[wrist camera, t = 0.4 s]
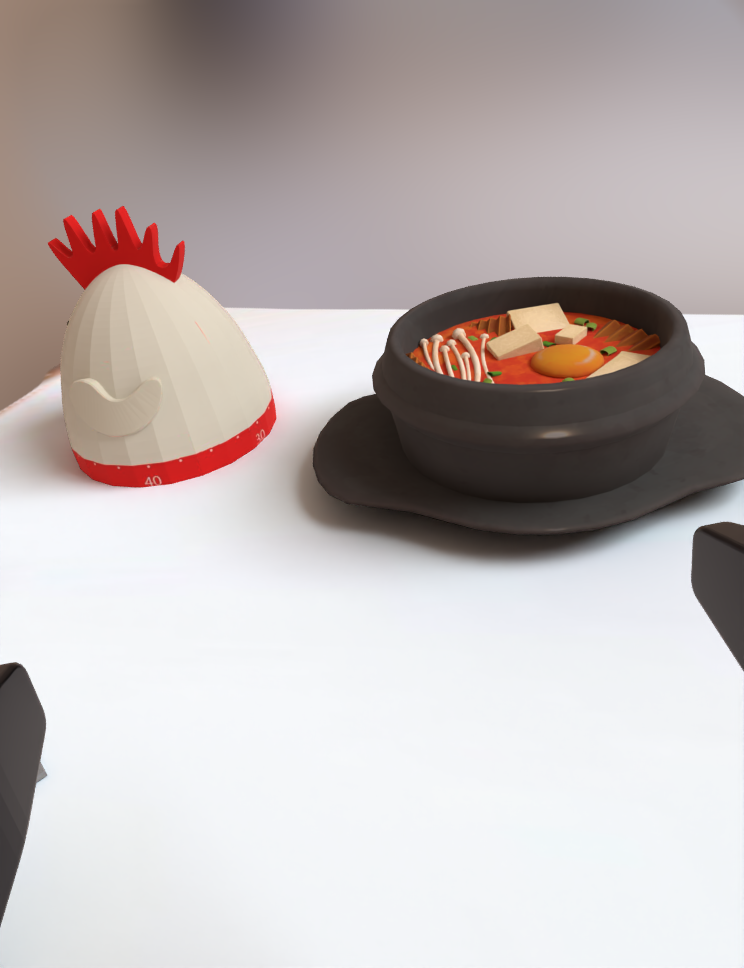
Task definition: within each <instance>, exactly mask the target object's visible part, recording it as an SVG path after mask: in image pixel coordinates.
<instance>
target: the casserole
mask: <svg viewBox="0 0 744 968" xmlns="http://www.w3.org/2000/svg"><path fill="white" fill-rule="evenodd" d="M372 379H373V389H374V391H375V393H376V394H373V395H369V396H365V397H362V398H359V399H357V400H354V401H352V402H349V403H348V404H347V405H346V406H344V407H343V408H342V409H341V410H340V411H339V412H337V413H336V414H335V415H334V416H333V417H332V418H331V419H330V420H329V422H328V423H327V424H326V426H325V427H324V428H323V429H322V431H321V432H320V434H319V437H318V439H317V442H316V444H315V446H314V453H313V467H314V470H315V473H316V476H317V479H318V482H319V483H320V484H321V485H322V487H323V488H324V489H325V490H326V492H327V493H328V494H329V495H331V496H333V497H335V498H337V499H339V500H341V501H343V502H345V503H347V504H353V505H361V506H368V507H376V508H383V509H391V510H398V511H406V512H412V513H416V514H420V515H423V516H427V517H431V518H435V519H438V520H442V521H446V522H450V523H454V524H457V525H461V526H465V527H469V528H473V529H477V530H484V531H492V532H500V533H509V534H565V533H572V532H580V531H588V530H596V529H601V528H604V527H608V526H612V525H616V524H620V523H623V522H627V521H631V520H634V519H637V518H639V517H641V516H643V515H646V514H648V513H650V512H652V511H654V510H657V509H659V508H661V507H663V506H666V505H668V504H670V503H672V502H674V501H677V500H679V499H681V498H683V497H685V496H688V495H690V494H692V493H695V492H699V491H703V490H707V489H711V488H715V487H718V486H722V485H726V484H729V483H733V482H736V481H739V480H743V479H744V396H742V395H741V394H739V393H738V392H736V391H735V390H733V389H732V388H730V387H728V386H727V385H725V384H724V383H722V382H720V381H718V380H716V379H713V378H711V377H709V376H706V375H705V365H704V359H703V357H702V355H701V353H700V352H699V350H698V348H697V346H696V345H695V344H694V343H693V342H692V341H691V339H690V334H689V330H688V326H687V322H686V320H685V319H684V317H683V315H682V313H681V312H680V311H679V310H678V309H677V308H676V307H674V306H673V305H672V304H671V303H670V302H669V301H667V300H665V299H663V298H661V297H659V296H657V295H655V294H653V293H651V292H648V291H645V290H642V289H639V288H636V287H633V286H629V285H625V284H620V283H616V282H610V281H604V280H596V279H589V278H572V277H532V278H518V279H509V280H501V281H494V282H488V283H483V284H478V285H474V286H468V287H465V288H461V289H458V290H454V291H451V292H447V293H444V294H442V295H439V296H437V297H434V298H432V299H429V300H427V301H425V302H423V303H421V304H419V305H418V306H416V307H414V308H412V309H410V310H409V311H408V312H407V313H405V314H404V315H403V316H401V317H400V318H399V319H398V320H397V321H396V323H395V324H394V325H393V326H392V328H391V329H390V332H389V335H388V338H387V342H386V347H385V351H384V353H383V355H382V356H381V357H380V359H379V360H378V361H377V362H376V365H375V368H374V371H373V375H372Z"/></svg>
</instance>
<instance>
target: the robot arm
mask: <svg viewBox="0 0 744 968" xmlns="http://www.w3.org/2000/svg"><path fill="white" fill-rule="evenodd" d="M691 583H692V588H693V591H694V594H695V596H696V598H697V600H698V601H699V603H700V604H701V606H702V607H703V609H704V610H705V612H706V614H707V615H708V617H709V618H710V620H711V621H712V623H713V624H714V626H715V628H716V629H717V631H718V632H719V634H720V635H721V637H722V638H723V640H724V642H725V643H726V645H727V646H728V648H729V649H730V651H731V652H732V654H733V656H734V657H735V659H736V660H737V662H738V663H739V665H740V666H741V668H742V670H743V671H744V525H740V524H736V523H732V522H720V523H715V524H710V525H705V526H701V527H699V528H698V529H697V530H696V531H695V533H694V536H693V549H692V571H691ZM45 731H46V718H45V713H44V710H43V708H42V705H41V703H40V701H39V698H38V696H37V694H36V691H35V689H34V687H33V685H32V682H31V680H30V678H29V675H28V673H27V671H26V669H25V668H24V667H23V666H22V665H21V664H19V663H16V662H14V663H7V664H2V665H0V926H1V922H2V919H3V916H4V912H5V909H6V906H7V902H8V899H9V896H10V892H11V889H12V886H13V882H14V879H15V875H16V872H17V869H18V865H19V862H20V858H21V855H22V851H23V847H24V844H25V839H26V835H27V830H28V825H29V820H30V815H31V809H32V804H33V798H34V793H35V787H36V781H37V776H38V770H39V765H40V759H41V754H42V748H43V743H44V737H45Z"/></svg>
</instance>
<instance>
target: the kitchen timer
mask: <svg viewBox="0 0 744 968" xmlns="http://www.w3.org/2000/svg"><path fill="white" fill-rule="evenodd" d="M115 219H116V229H117V237H118V243H117V241H116V240H115V238H114V236H113V234H112V232H111V230H110V227H109V225H108V223H107V221H106V219H105V217H104V215H103V213H102V211H101V210H100V209H98V210H97V211H95V212H93V213H92V223H93V232H94V238H95V244H96V247H95V246H94V245H93V244H92V243H91V242H90V240H89V239H88V237H87V235H86V234H85V233H84V231H83V229H82V228H81V226H80V225H79V223H78V222H77V220H76V219H75V218H74V217H73V216H72V215H71V216H69V217H67V218H65V219H64V220H63V222H64V227H65V230H66V233H67V236H68V239H69V242H70V245H71V248H72V251H71V250H70V249H68V248H67V247H66V246H65V245H64V244H63V243H62V242H60V241H59V240H58V239H57V238H55V239H53V240H52V241H50V242H48V245H49V247H50V248H51V250H52V251H53V253H54V254H55V256H56V257H57V258H58V259H59V261H60V262H61V263H62V264H63V265H64V267H65V268H66V269H67V270H68V271H69V272H70V273H71V275H72V276H73V277H74V278H75V279H76V280H77V281H78V283H79V284H80V285H81V286H82V287H83V288H84V290H85V291H84V292H83V294H82V295H81V297H80V299H79V301H78V302H77V304H76V306H75V308H74V310H73V312H72V315H71V317H70V320H69V321H68V323H67V329H66V332H65V336H64V341H63V346H62V352H61V367H60V371H61V389H62V404H63V413H64V419H65V424H66V428H67V433H68V437H69V441H70V444H71V448H72V450H73V453H74V455H75V457H76V460H77V462H78V464H79V467H80V469H81V470H82V471H83V472H85V473H86V474H87V475H88V476H89V477H90V478H91V479H93V480H96V481H99V482H102V483H105V484H109V485H112V486H123V487H149V486H157V485H166V484H173V483H176V482H180V481H184V480H188V479H191V478H195V477H199V476H203V475H205V474H207V473H210V472H212V471H214V470H217V469H219V468H221V467H224V466H226V465H228V464H231V463H233V462H234V461H236V460H237V459H239V458H240V457H242V456H244V455H245V454H247V453H248V452H250V451H251V450H253V449H254V448H255V447H256V446H257V445H258V444H259V443H260V442H261V441H262V440H263V439H264V438H265V437H266V436H267V435H268V434H269V433H270V431H271V429H272V427H273V425H274V423H275V420H276V410H275V404H274V399H273V395H272V390H271V386H270V383H269V380H268V377H267V375H266V373H265V370H264V368H263V366H262V364H261V362H260V361H259V359H258V357H257V355H256V354H255V352H254V350H253V349H252V347H251V345H250V344H249V342H248V340H247V339H246V337H245V335H244V334H243V332H242V331H241V329H240V327H239V326H238V325H237V323H236V322H235V321H234V319H233V318H232V317H231V316H230V314H229V313H228V312H227V311H226V310H225V309H224V308H223V307H222V306H221V305H220V304H219V303H218V302H217V301H216V300H215V299H214V298H213V297H212V296H211V295H210V294H209V293H208V292H207V291H206V290H204V289H203V288H202V287H201V286H200V285H198V284H197V283H196V282H194V281H193V280H191V279H190V278H188V277H187V276H185V275H183V274H182V273H181V272H182V267H183V261H184V252H185V245H184V241H182V242H180V243H179V244H178V245H177V246H176V248H175V250H174V253H173V257H172V260H171V262H170V263H165V262H163V260H162V259H161V257H160V253H159V246H158V229H157V225H156V224H155V223H153V224H152V225H150V226H149V227H148V228H147V229H146V231H145V235H144V240H143V244H142V243H141V241H140V239H139V237H138V235H137V233H136V231H135V228H134V226H133V224H132V222H131V219H130V217H129V215H128V213H127V211H126V209H125V208H124V206H122V207H120V208H119V209H117V210H116V211H115Z"/></svg>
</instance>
